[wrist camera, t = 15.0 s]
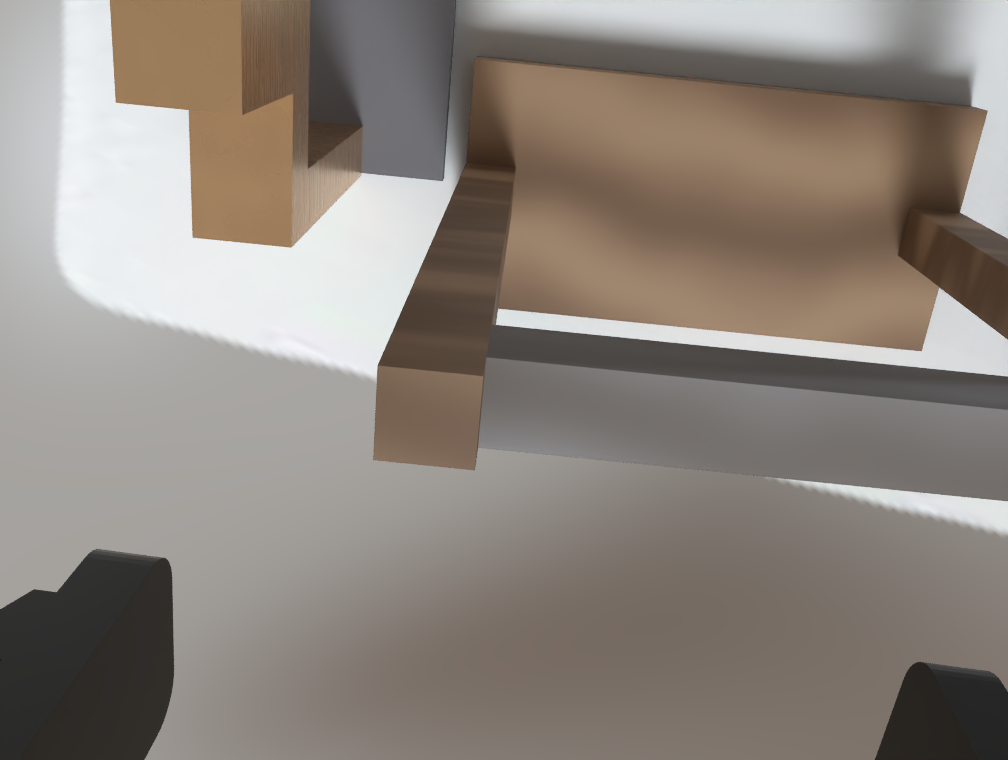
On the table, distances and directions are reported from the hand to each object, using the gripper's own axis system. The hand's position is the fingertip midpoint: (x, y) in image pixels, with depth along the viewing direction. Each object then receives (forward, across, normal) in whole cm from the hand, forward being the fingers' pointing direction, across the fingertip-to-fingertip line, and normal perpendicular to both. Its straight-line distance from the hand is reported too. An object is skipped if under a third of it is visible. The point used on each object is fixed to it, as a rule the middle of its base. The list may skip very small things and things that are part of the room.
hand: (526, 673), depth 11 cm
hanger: (+32, +10, -4) cm, 33 cm away
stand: (+32, -6, +1) cm, 33 cm away
